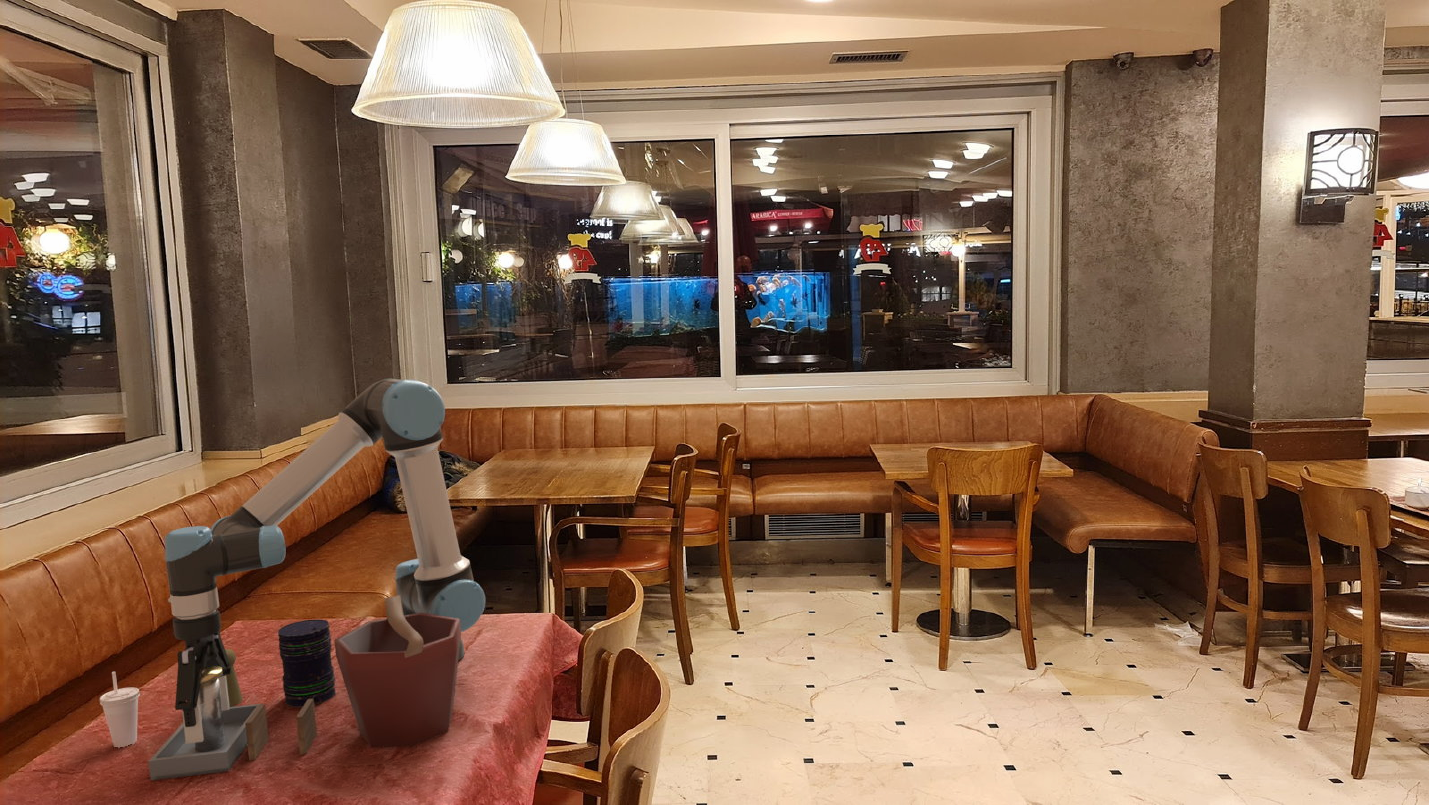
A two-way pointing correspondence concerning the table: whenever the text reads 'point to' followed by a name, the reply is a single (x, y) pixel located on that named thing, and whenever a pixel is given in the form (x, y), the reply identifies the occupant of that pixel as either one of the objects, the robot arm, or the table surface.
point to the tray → (188, 762)
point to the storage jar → (306, 662)
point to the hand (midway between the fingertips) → (208, 725)
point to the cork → (233, 681)
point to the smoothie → (121, 714)
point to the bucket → (401, 675)
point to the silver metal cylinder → (211, 710)
